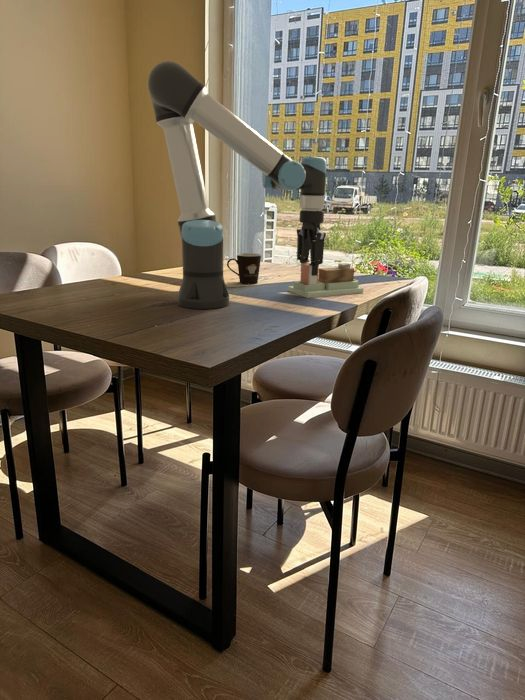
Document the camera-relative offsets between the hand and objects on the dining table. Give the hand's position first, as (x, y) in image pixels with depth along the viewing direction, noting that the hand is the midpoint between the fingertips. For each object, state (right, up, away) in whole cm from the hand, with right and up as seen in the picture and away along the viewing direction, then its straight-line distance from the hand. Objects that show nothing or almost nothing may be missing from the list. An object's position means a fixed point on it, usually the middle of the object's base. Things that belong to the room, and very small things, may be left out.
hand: (308, 283), depth 168 cm
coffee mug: (-21, +2, +17) cm, 28 cm away
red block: (0, -2, +1) cm, 2 cm away
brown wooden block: (+10, 0, +5) cm, 11 cm away
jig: (+6, -2, +4) cm, 8 cm away
